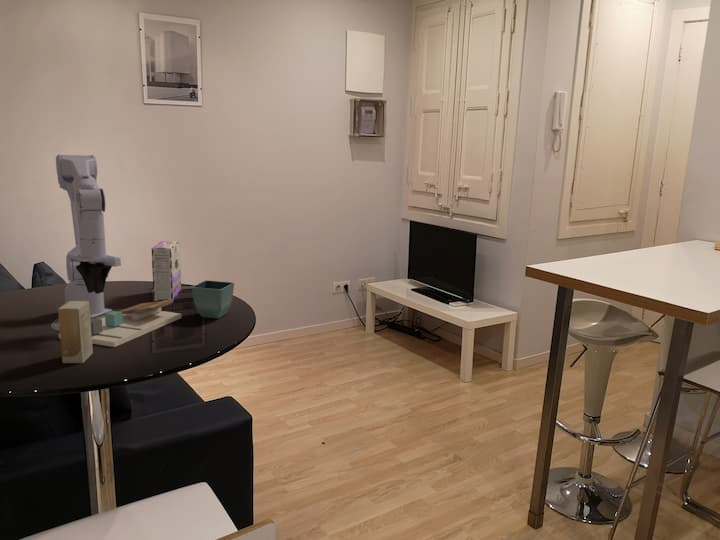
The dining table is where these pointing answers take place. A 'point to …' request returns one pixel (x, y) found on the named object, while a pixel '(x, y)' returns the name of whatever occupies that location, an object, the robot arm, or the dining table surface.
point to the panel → (133, 327)
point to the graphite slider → (96, 326)
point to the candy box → (166, 270)
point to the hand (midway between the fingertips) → (95, 292)
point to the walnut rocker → (146, 307)
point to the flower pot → (213, 298)
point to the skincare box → (75, 331)
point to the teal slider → (113, 318)
